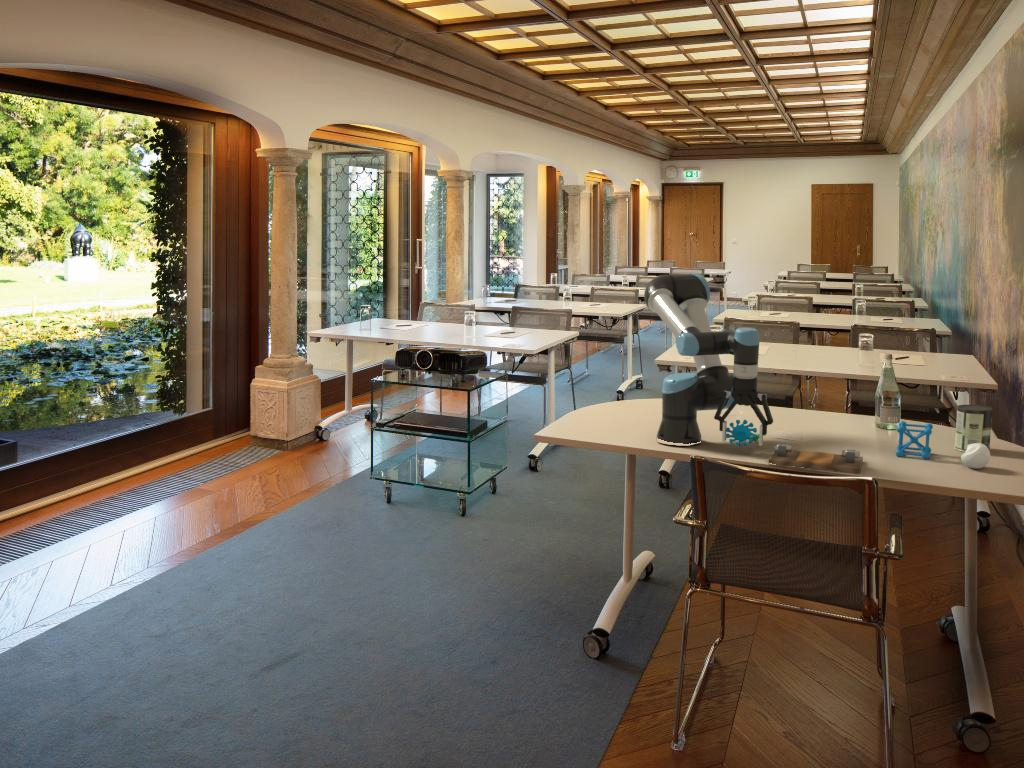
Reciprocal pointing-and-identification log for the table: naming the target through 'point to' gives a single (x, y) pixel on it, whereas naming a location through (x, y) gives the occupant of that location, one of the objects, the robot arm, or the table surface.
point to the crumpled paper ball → (976, 456)
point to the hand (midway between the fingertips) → (742, 442)
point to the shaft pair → (847, 453)
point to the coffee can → (973, 426)
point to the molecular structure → (914, 439)
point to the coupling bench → (817, 461)
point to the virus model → (742, 433)
